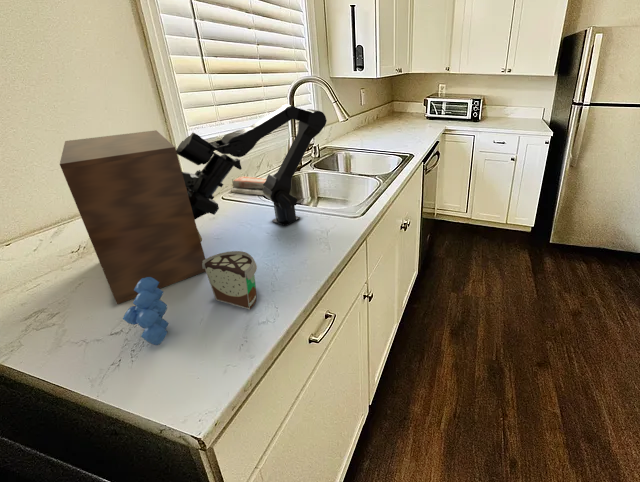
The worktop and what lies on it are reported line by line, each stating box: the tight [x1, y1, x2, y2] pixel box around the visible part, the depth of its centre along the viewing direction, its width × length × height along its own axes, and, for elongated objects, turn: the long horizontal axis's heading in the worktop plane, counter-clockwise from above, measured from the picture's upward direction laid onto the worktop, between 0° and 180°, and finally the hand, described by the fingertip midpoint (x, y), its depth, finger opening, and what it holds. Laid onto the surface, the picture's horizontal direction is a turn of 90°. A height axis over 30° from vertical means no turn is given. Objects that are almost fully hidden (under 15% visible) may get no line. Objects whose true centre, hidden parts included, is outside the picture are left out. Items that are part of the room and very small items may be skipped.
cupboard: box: [59, 129, 206, 305], centre depth 80 cm, size 18×26×32 cm
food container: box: [202, 250, 258, 311], centre depth 71 cm, size 12×6×10 cm, turn 71°
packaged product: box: [229, 175, 267, 196], centre depth 133 cm, size 18×5×10 cm
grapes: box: [122, 277, 170, 346], centre depth 60 cm, size 12×7×12 cm, turn 31°
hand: (177, 223), depth 86 cm, fingers closed on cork, 5 cm apart
